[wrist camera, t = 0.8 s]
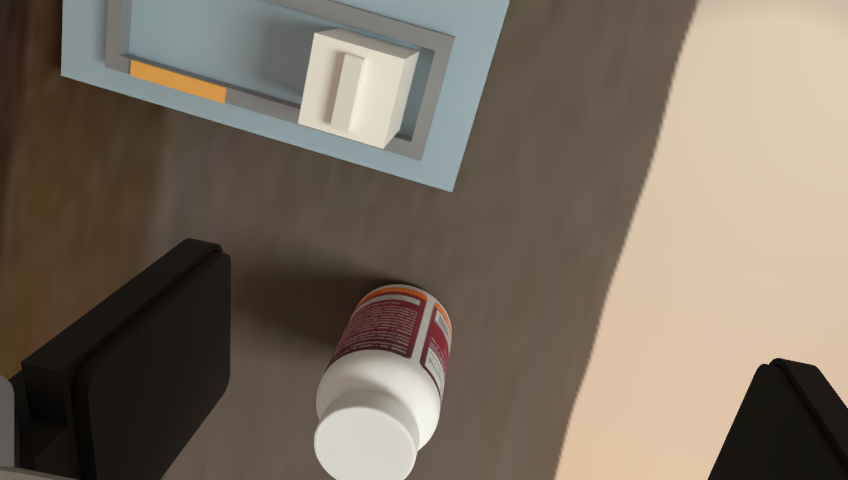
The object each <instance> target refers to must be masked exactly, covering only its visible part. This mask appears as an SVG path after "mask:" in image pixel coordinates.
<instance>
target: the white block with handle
mask: <svg viewBox="0 0 848 480" xmlns="http://www.w3.org/2000/svg"><path fill="white" fill-rule="evenodd" d="M418 55H419V51H418V50H414V49H411V48H408V47H404V46H401V45H397V44H394V43H391V42H387V41H384V40H380V39H377V38H374V37H370V36H367V35H363V34H360V33H357V32H353V31H350V30H346V29H343V28H339V29H333V30H327V31H322V32H316V33H314V38H313V44H312V49H311V55H310V60H309V66H308V71H307V76H306V82H305V87H304V93H303V98H302V104H301V109H300V114H299V120H298V124H301V125H304V126H308V127H311V128H314V129H318V130H321V131H325V132H328V133H331V134H335V135H338V136H341V137H345V138H348V139H351V140H355V141H358V142H361V143H365V144H368V145H371V146H375V147H378V148H382V149H384V147H385V146H386V145H387V144H388V143H389V141H390V140H391V139H392V138H393V137H394V136H395V134H396V133H397V132H398V131H399V130H400V126H401V122H402V118H403V115H404V111H405V107H406V103H407V99H408V95H409V91H410V87H411V83H412V79H413V75H414V71H415V67H416V63H417V59H418Z"/></svg>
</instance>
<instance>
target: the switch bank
mask: <svg viewBox="0 0 848 480" xmlns="http://www.w3.org/2000/svg"><path fill="white" fill-rule="evenodd" d="M509 1H510V0H63V17H62V56H61V76H65V77H68V78H71V79H75V80H78V81H81V82H85V83H88V84H91V85H95V86H98V87H101V88H105V89H108V90H112V91H115V92H118V93H122V94H125V95H128V96H132V97H135V98H138V99H142V100H145V101H148V102H152V103H155V104H158V105H162V106H165V107H168V108H172V109H175V110H178V111H182V112H185V113H188V114H192V115H195V116H198V117H202V118H205V119H208V120H212V121H215V122H219V123H222V124H225V125H229V126H232V127H235V128H239V129H242V130H245V131H249V132H252V133H255V134H259V135H262V136H265V137H269V138H272V139H275V140H279V141H282V142H285V143H289V144H292V145H295V146H299V147H302V148H305V149H309V150H312V151H315V152H319V153H322V154H326V155H329V156H332V157H336V158H339V159H342V160H346V161H349V162H352V163H356V164H359V165H362V166H366V167H369V168H372V169H376V170H379V171H382V172H386V173H389V174H392V175H396V176H399V177H402V178H406V179H409V180H412V181H416V182H419V183H423V184H426V185H429V186H433V187H436V188H439V189H443V190H446V191H449V192H452V191H453V187H454V184H455V181H456V177H457V174H458V171H459V168H460V164H461V161H462V158H463V154H464V151H465V148H466V144H467V141H468V138H469V134H470V131H471V128H472V124H473V121H474V118H475V114H476V111H477V108H478V104H479V101H480V98H481V94H482V91H483V88H484V84H485V81H486V78H487V74H488V71H489V68H490V64H491V61H492V58H493V55H494V51H495V48H496V45H497V41H498V38H499V35H500V31H501V28H502V25H503V21H504V18H505V15H506V11H507V8H508V5H509ZM339 28H343V29H346V30H350V31H353V32H357V33H360V34H363V35H367V36H370V37H374V38H377V39H380V40H384V41H387V42H391V43H394V44H397V45H401V46H404V47H408V48H411V49H414V50H418V51H419V55H418V59H417V63H416V67H415V71H414V75H413V79H412V83H411V87H410V91H409V95H408V99H407V103H406V107H405V111H404V115H403V118H402V122H401V126H400V130H399V131H398V132H397V133H396V134H395V136H394V137H393V138H392V139H391V140H390V141H389V143H388V144H387V145H386V146H385V147H384V149H382V148H378V147H375V146H371V145H368V144H365V143H361V142H358V141H355V140H351V139H348V138H345V137H341V136H338V135H335V134H331V133H328V132H325V131H321V130H318V129H314V128H311V127H308V126H304V125H301V124H298V120H299V114H300V109H301V104H302V98H303V93H304V87H305V82H306V76H307V71H308V66H309V60H310V55H311V49H312V44H313V38H314V33H316V32H322V31H327V30H333V29H339Z"/></svg>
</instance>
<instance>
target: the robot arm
mask: <svg viewBox="0 0 848 480" xmlns="http://www.w3.org/2000/svg"><path fill="white" fill-rule="evenodd" d="M230 314H231V259H230V256H229V255H228V254H225V253H223V250H222V247H221V246H220V245H219V244H215V243H210V242H205V241H200V240H196V239H190V238H187V239H185V240H184V241H182V242H181V243H180V244H178V245H177V246H176V247H174V248H173V249H172V250H170V251H169V252H168V253H166V254H165V255H164V256H162V257H161V258H160V259H158V260H157V261H156V262H154V263H153V264H152V265H150V266H149V267H148V268H146V269H145V270H144V271H142V272H141V273H140V274H138V275H137V276H136V277H134V278H133V279H132V280H130V281H129V282H128V283H126V284H125V285H124V286H122V287H121V288H120V289H118V290H117V291H116V292H114V293H113V294H112V295H110V296H109V297H108V298H106V299H105V300H104V301H102V302H101V303H100V304H98V305H97V306H96V307H94V308H93V309H92V310H90V311H89V312H88V313H86V314H85V315H84V316H82V317H81V318H80V319H78V320H77V321H76V322H74V323H73V324H72V325H70V326H69V327H68V328H66V329H65V330H64V331H62V332H61V333H60V334H58V335H57V336H56V337H54V338H53V339H52V340H50V341H49V342H48V343H46V344H45V345H44V346H42V347H41V348H40V349H38V350H37V351H36V352H34V353H33V354H32V355H30V356H29V357H28V358H26V359H25V360H24V361H22V362H21V366H22V370H21V371H20V372H18V373H17V374H16V375H15V376H13V377H12V378H11V379H9V380H6V379H5V378H4V377H3V376H0V480H160V479H161V478H162V476H163V475H164V474H165V472H166V471H167V470H168V468H169V467H170V466H171V464H172V463H173V462H174V460H175V459H176V458H177V456H178V455H179V453H180V452H181V451H182V449H183V448H184V447H185V445H186V444H187V443H188V441H189V440H190V439H191V437H192V436H193V435H194V433H195V432H196V431H197V429H198V428H199V427H200V425H201V424H202V423H203V421H204V420H205V419H206V417H207V416H208V414H209V413H210V412H211V410H212V409H213V408H214V406H215V405H216V404H217V402H218V401H219V400H220V398H221V397H222V396H223V394H224V392H225V391H226V388H227V386H228V383H229V378H230ZM708 480H848V408H847V407H846V405H845V404H844V403H843V401H842V400H841V399H840V397H839V396H838V395H837V393H836V392H835V390H834V389H833V388H832V386H831V385H830V384H829V382H828V381H827V380H826V378H825V377H824V375H823V374H822V373H821V372H820V370H819V369H818V368H817V367H816V366H814V365H810V364H805V363H800V362H795V361H790V360H785V359H781V358H776V359H774V360H772V361H771V362H770V363H769V365H767V364H762V365H760V366H759V368H758V369H757V371H756V373H755V375H754V377H753V379H752V382H751V384H750V386H749V388H748V390H747V393H746V395H745V397H744V399H743V402H742V404H741V406H740V409H739V410H738V413H737V415H736V417H735V419H734V422H733V424H732V426H731V428H730V431H729V433H728V435H727V437H726V440H725V442H724V444H723V446H722V449H721V451H720V453H719V455H718V457H717V460H716V462H715V464H714V466H713V469H712V471H711V473H710V476H709V478H708Z"/></svg>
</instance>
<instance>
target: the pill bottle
mask: <svg viewBox="0 0 848 480" xmlns="http://www.w3.org/2000/svg"><path fill="white" fill-rule="evenodd" d="M451 340H452V329H451V323H450V320H449V317H448V314H447V312H446V311H445V309H444V307H443V306H442V305H441V304H440V303H439V301H438V300H436V299H435V298H434V297H433V296H432V295H430V294H429V293H427V292H426V291H424V290H421V289H419V288H416V287H413V286H409V285H403V284H393V285H386V286H382V287H379V288H377V289H375V290H373V291H371V292H370V293H368V294H367V295H366V296H365V297H364V298H363V299H362V300H361V301H360V302H359V303H358V305H357V306H356V308H355V310H354V312H353V314H352V316H351V318H350V320H349V322H348V324H347V326H346V328H345V330H344V333H343V335H342V337H341V339H340V341H339V343H338V345H337V347H336V349H335V352H334V354H333V356H332V358H331V360H330V362H329V364H328V366H327V368H326V370H325V373H324V375H323V377H322V380H321V382H320V384H319V387H318V390H317V396H316V408H317V414H318V417H319V420H320V421H319V424H318V426H317V428H316V431H315V435H314V449H315V453H316V456H317V458H318V460H319V462H320V464H321V465H322V466H323V468H324V469H325V470H326V471H327V472H328V473H329V474H330V475H331V476H332V477H334V478H335V479H336V480H404V479H405V478H406V477H407V476H408V474H409V473H410V472H411V470H412V468H413V466H414V463H415V459H416V455H417V451H418V450H419V449H421V448H422V447H423V446H424V445H425V444H426V443H427V442H428V441H429V439H430V438H431V436H432V435H433V433H434V431H435V429H436V426H437V423H438V419H439V414H440V409H441V402H442V396H443V389H444V383H445V377H446V371H447V365H448V359H449V353H450V347H451Z"/></svg>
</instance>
